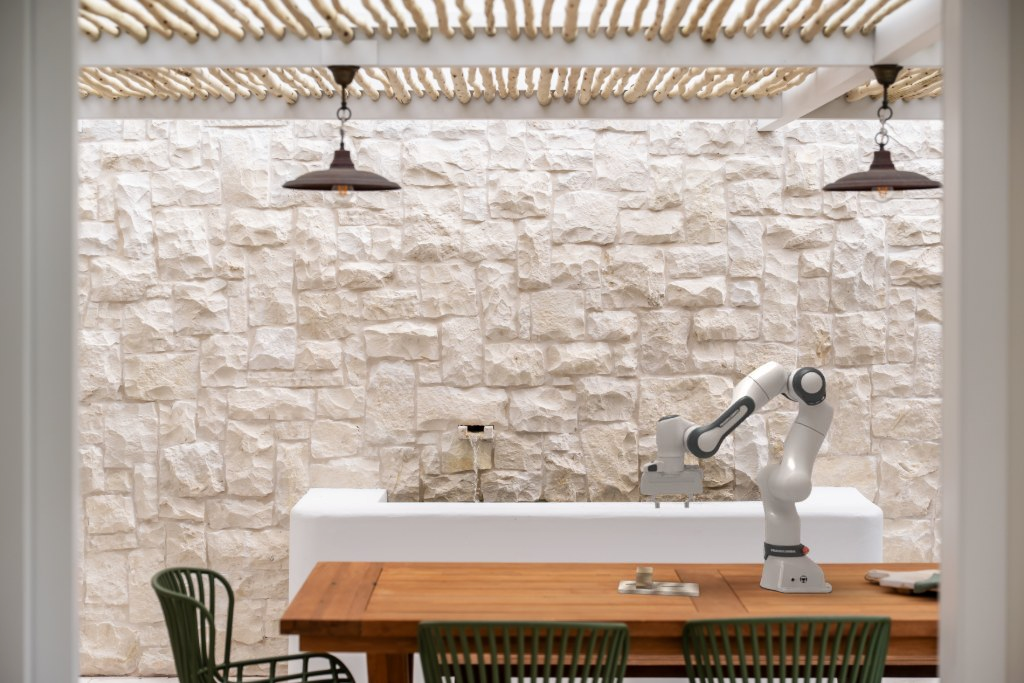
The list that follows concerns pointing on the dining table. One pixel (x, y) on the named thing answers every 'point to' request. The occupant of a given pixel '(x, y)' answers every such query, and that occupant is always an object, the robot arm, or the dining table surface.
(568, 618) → the dining table surface
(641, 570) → the beige brown jar
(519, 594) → the dining table surface
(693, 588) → the plank
